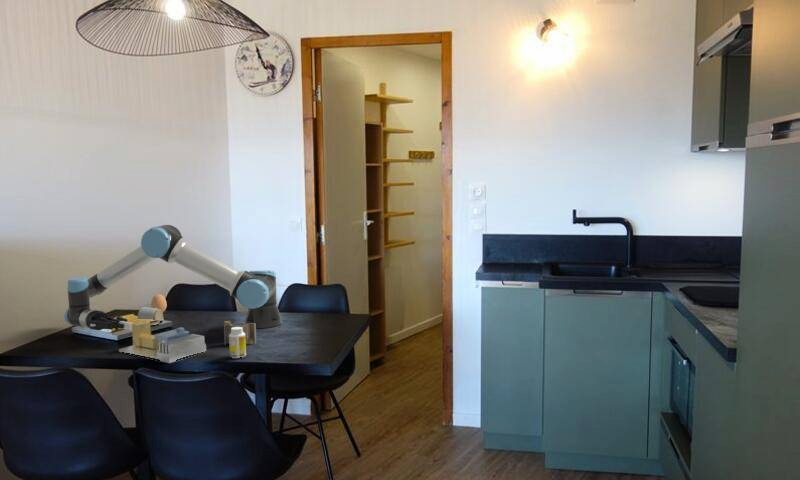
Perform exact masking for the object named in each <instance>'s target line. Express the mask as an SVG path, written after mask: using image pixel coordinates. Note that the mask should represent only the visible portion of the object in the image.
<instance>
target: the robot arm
mask: <svg viewBox="0 0 800 480" xmlns="http://www.w3.org/2000/svg"><path fill="white" fill-rule="evenodd" d="M155 259H161V260H162V261H164V262H166V263H168V264H173V263H176V264H178V265H180V266H182V267H184V268H186V269H187V270H189V271H191V272H193V273H195V274H197V275H199V276H200V277H203V278H205V279H207V280H208V281H210V282H212V283H213V284H216V285H217V286H219V287H221V288H223V289H225V290H227V291H228V292H229V294H230V296H231V297H233V298H234V299H236V300H237V301H238V302H239V304H240V305H241V306H242V307H244V308H246V309H247V311H246V315H245V316H246V317H245V319H244V324H250V323H256V329H269V328H273V327H277V326H281V324H282V317H281V313H280V311H279V308H278V304H277V277H276V272H275V270H249V271H248V270H246V269H245V270H241V271H239V270H237V269H235V268H234V267H232V266H230V265H228V264H226V263H224V262H223V261H220V260H219V259H217V258H215V257H213V256H211V255H209V254H207V253H205V252H204V251H202V250H200V249H198V248H196V247H194V246H193V245H192V244H188V242H187V240H186V238H185V237H184V236H182V232H181V231H180V230H179V229H178V228H177V227H176V226H174V225H170V224H163V225H159V226H153V227H150V228H149V229H147V230H146V231H145V232H144V233H143V235H142V236H141V240H140V246H139V247H137V248H136V249H134V250H132V251H130V252H129V253H127V254H126V255H124V256H123V257H121V258H120V259H118V260H116V261H115V262H113V263H112V264H110V265H108V266H107V267H106V268H103V270H101V271H99V272H98V273H96V274H94V275H92V276H91V277H89V278H87V277H80V276H79V277H74V278H73V277H72V278H70V279H68V280H67V289H66V290H67V298H68V299H67V300H68V308H66V310H65V313H64V319H65V320H64V321H65V322H66V323H67V324H68V325H72V326H73V327H79V328H84V329H89V330H95V331H101V330H111V331H112V330H114V329H115V331H119V330H124V331H129V332H130V331H132V324H133V323H134V322H130V321H128V319H127V318H125V317H122V316H121V315H117V316H115V317H114V316H110V315H108V314H107V313H106V312H105V311H102V310H97V309H92V308H90V307H91V306H90V299H91V298H93V297H95V296H99V295H101V294H102V293H103V292H105V291H106V290H107V289H109V288H110V287H112V286H113V285H115V284H116V283H118V282H121V280H124V279H125V278H127V277H128V276H129V275H131V274H133V273H134V272H136V271H138V270H139V269H141V268H143V267H144V266H145V265H147V264H149V263H151V262H152V261H153V260H155Z"/></svg>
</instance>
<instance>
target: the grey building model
mask: <svg viewBox="0 0 800 480" xmlns="http://www.w3.org/2000/svg"><path fill="white" fill-rule="evenodd" d="M153 335H154V337H155V339H158V340H162V343H159V347H158V348H154V349H152V348H147V347H143V346H135V345H133V344H132V345H130V346H126V347H122V348H118V352H119V353H122V352H124V353H123V354H126V353H130V354H129V355H131V354H135V355H140V356H145V357H150V358H155V359H159V360H160V361H159V362H163V363H167V364H172V363H174V362H177V361H176V360H177V359H180V358H183V357H186V356H189V355H193V354H197V353H201V352H204V353H206V352H207V344H206V341H205V335H202V334H201V335H200V334H195V333H192V334H190V331H188V330H185V327H181V326H180V327H176V329H171V330H166V331H164V332H160V333H156V334H153ZM205 351H206V352H205ZM201 354H202V353H201ZM135 355H134V356H135ZM140 356H139V357H140Z"/></svg>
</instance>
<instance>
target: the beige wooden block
mask: <svg viewBox="0 0 800 480" xmlns="http://www.w3.org/2000/svg"><path fill="white" fill-rule="evenodd" d="M132 323H133V324H132V330H131V331H132V332H131V333H132V346H133V345H135V346H143V347H147V348H152V349H154V348H158V347H159V343H162V341H163V340H158V339H155V337H154V335H155V334H152V327H151V326H152V325H150V322H146V321H142V322H138V321H137V322H135V323H134V322H132Z"/></svg>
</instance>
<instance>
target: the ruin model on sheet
mask: <svg viewBox="0 0 800 480" xmlns="http://www.w3.org/2000/svg"><path fill="white" fill-rule="evenodd" d="M223 322H224V325H223V334H224V335H223V336H224V339H223V341H224V346H226V345H227V344H229V334H230V333H231V328H233V327H242V328H243V332H244V333H245V339H246V345H255V344H256V343H257V328H256V323H250V324H245V323H231V320H227V321H225V320H224V321H223Z"/></svg>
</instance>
